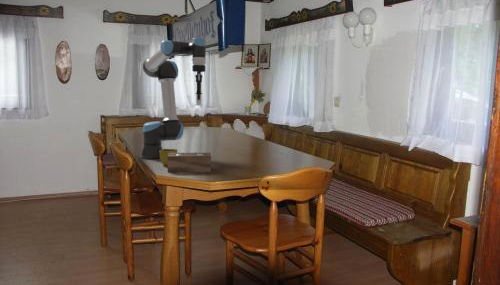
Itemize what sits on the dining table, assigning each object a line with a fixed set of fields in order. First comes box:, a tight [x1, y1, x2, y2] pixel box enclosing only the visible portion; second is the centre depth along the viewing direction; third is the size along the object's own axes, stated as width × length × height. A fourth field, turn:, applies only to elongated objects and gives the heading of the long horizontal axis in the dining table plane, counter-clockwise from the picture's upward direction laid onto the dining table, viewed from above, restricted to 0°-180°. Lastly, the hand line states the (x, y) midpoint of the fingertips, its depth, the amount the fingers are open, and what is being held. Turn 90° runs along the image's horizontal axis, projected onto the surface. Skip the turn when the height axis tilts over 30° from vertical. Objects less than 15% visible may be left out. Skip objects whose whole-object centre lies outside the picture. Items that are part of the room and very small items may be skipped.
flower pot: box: [159, 148, 178, 166], centre depth 252 cm, size 9×9×9 cm
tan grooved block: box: [167, 152, 212, 173], centre depth 238 cm, size 12×24×9 cm, turn 97°
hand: (198, 105), depth 247 cm, fingers closed
